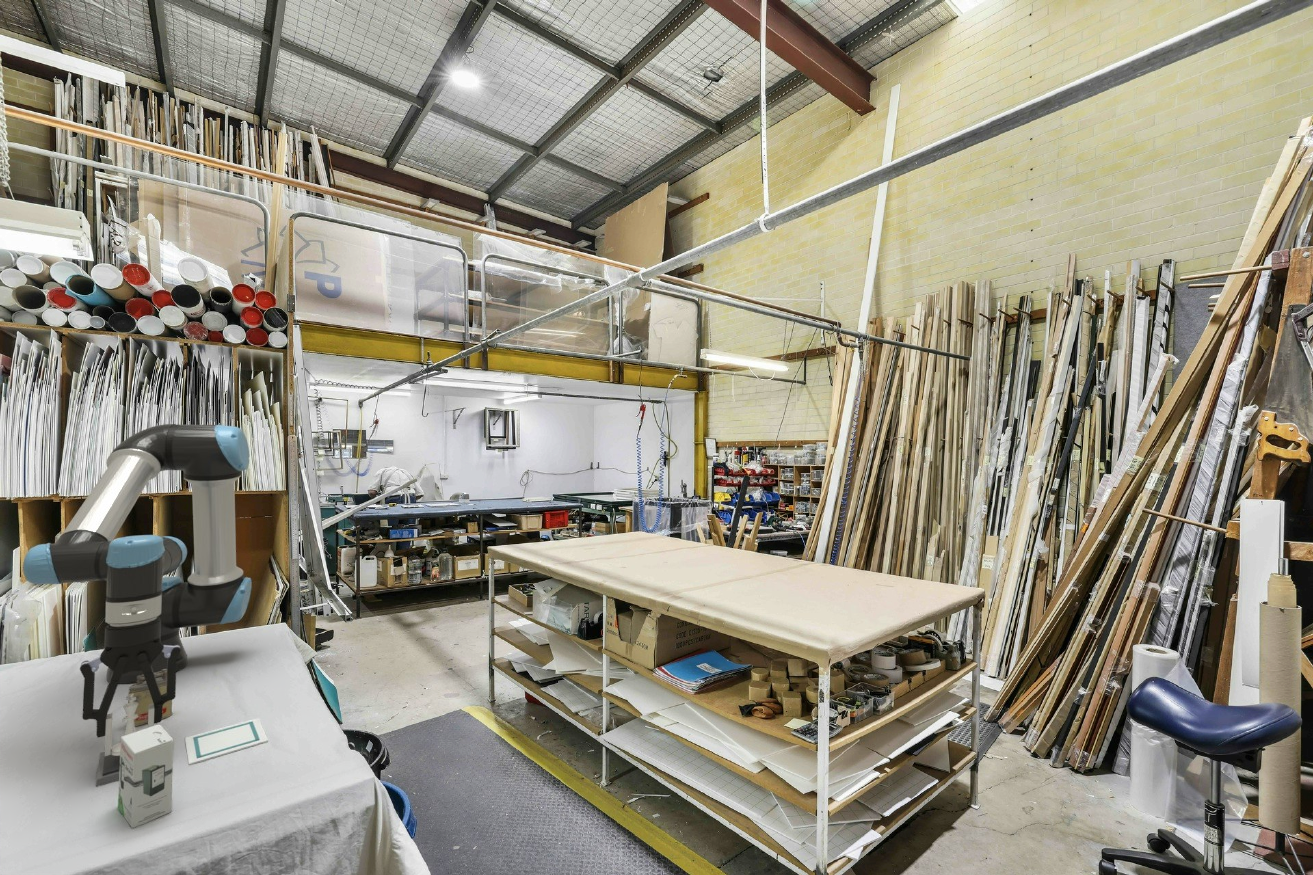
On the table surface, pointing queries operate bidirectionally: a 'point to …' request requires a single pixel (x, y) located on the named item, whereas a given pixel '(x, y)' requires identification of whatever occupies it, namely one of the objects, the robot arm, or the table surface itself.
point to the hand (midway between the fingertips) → (129, 746)
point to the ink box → (145, 775)
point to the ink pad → (107, 769)
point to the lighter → (149, 697)
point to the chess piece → (130, 717)
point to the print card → (224, 741)
